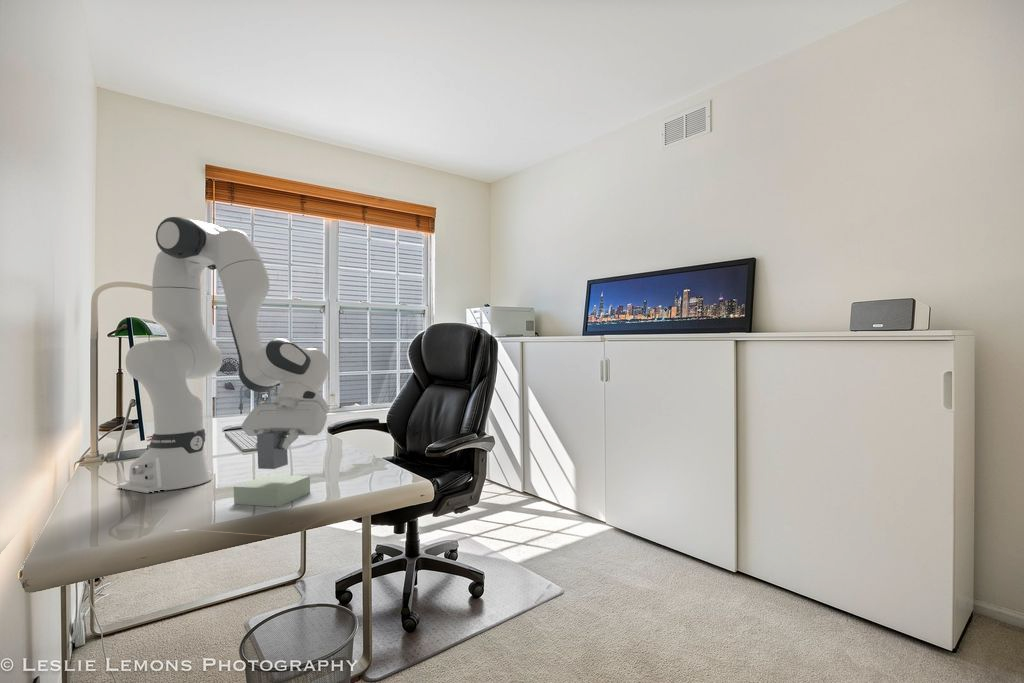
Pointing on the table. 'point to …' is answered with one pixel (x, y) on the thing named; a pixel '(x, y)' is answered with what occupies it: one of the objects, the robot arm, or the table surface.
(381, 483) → the table surface
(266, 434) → the block
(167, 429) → the robot arm
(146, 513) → the table surface
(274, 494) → the stand
